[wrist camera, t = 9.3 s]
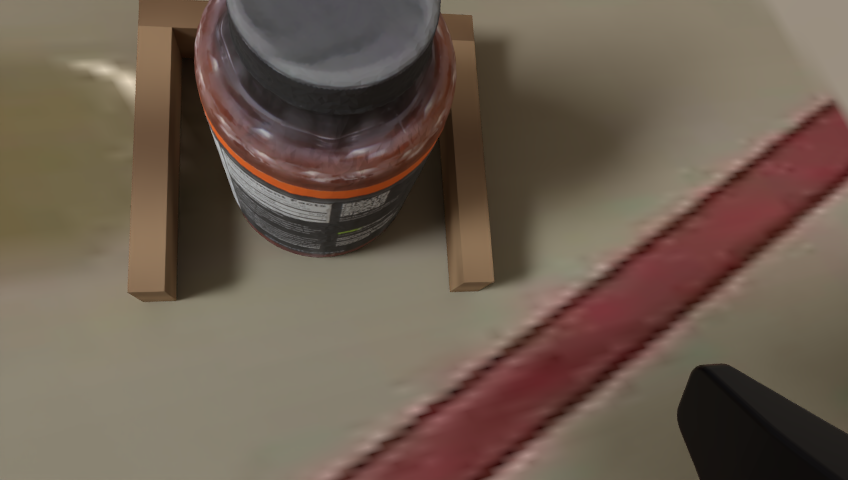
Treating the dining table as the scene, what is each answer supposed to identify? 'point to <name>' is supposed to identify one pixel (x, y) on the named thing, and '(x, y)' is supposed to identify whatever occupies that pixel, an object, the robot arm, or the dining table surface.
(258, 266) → the dining table surface
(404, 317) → the dining table surface
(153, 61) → the bay
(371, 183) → the supplement bottle
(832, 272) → the dining table surface
